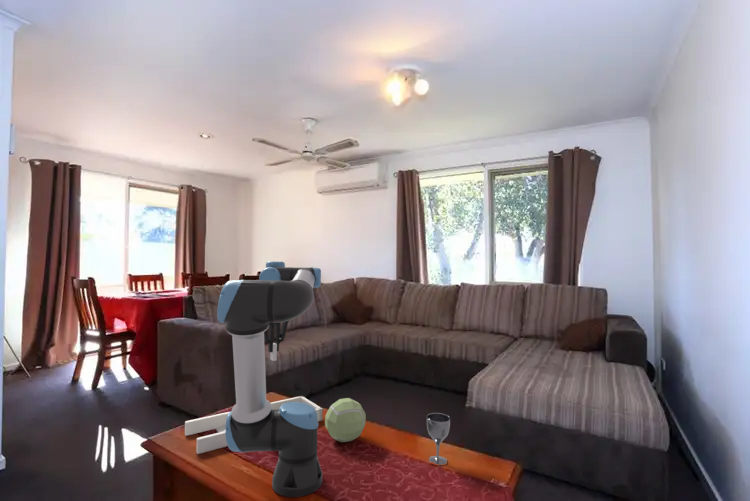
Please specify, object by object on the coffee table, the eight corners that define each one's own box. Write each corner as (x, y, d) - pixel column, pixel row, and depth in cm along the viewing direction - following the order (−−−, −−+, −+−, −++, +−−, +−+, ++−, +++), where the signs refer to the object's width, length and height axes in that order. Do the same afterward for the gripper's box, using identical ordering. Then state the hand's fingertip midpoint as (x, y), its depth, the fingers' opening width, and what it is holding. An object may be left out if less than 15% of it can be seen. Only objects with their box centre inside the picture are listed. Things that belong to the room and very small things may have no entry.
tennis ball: (370, 445, 149) (371, 404, 149) (331, 451, 143) (332, 409, 143) (357, 428, 163) (357, 391, 163) (321, 434, 157) (321, 395, 157)
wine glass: (431, 468, 133) (432, 423, 133) (422, 456, 141) (423, 413, 141) (453, 465, 135) (454, 420, 135) (443, 454, 143) (443, 411, 143)
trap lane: (322, 425, 170) (322, 408, 170) (197, 459, 140) (197, 439, 140) (301, 410, 185) (301, 395, 185) (184, 439, 155) (185, 421, 155)
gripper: (285, 298, 166) (284, 355, 165) (255, 300, 158) (253, 360, 157) (294, 300, 160) (292, 359, 159) (262, 302, 152) (261, 364, 151)
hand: (273, 359), depth 158 cm, fingers closed
